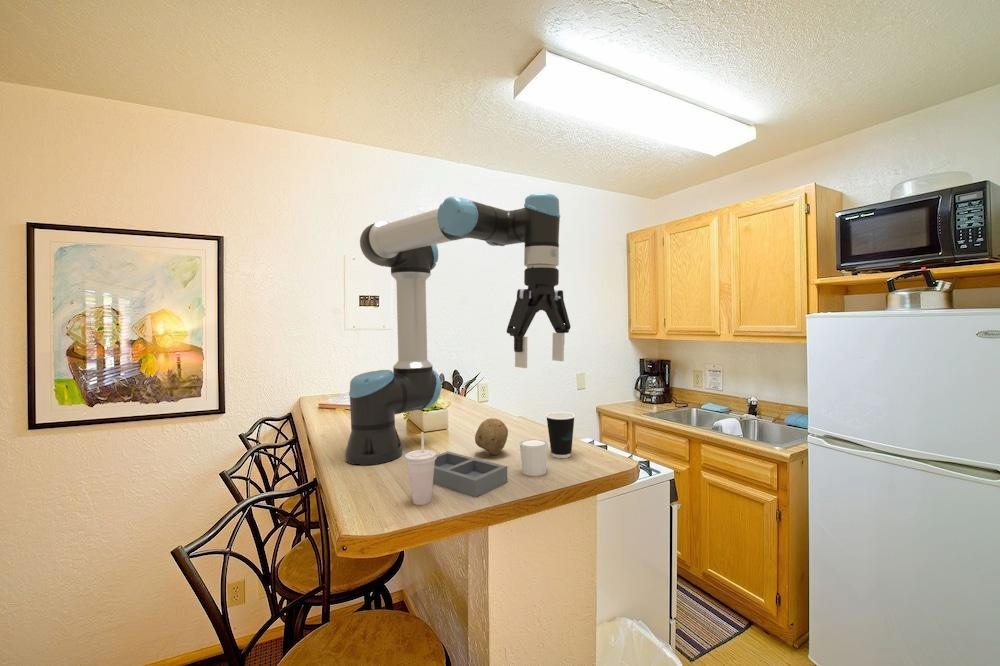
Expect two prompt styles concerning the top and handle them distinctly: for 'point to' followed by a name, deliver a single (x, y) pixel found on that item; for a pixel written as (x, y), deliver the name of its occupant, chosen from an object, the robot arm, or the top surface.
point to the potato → (491, 435)
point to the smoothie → (421, 473)
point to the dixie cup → (560, 433)
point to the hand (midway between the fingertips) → (540, 363)
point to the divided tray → (468, 473)
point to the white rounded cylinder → (534, 457)
